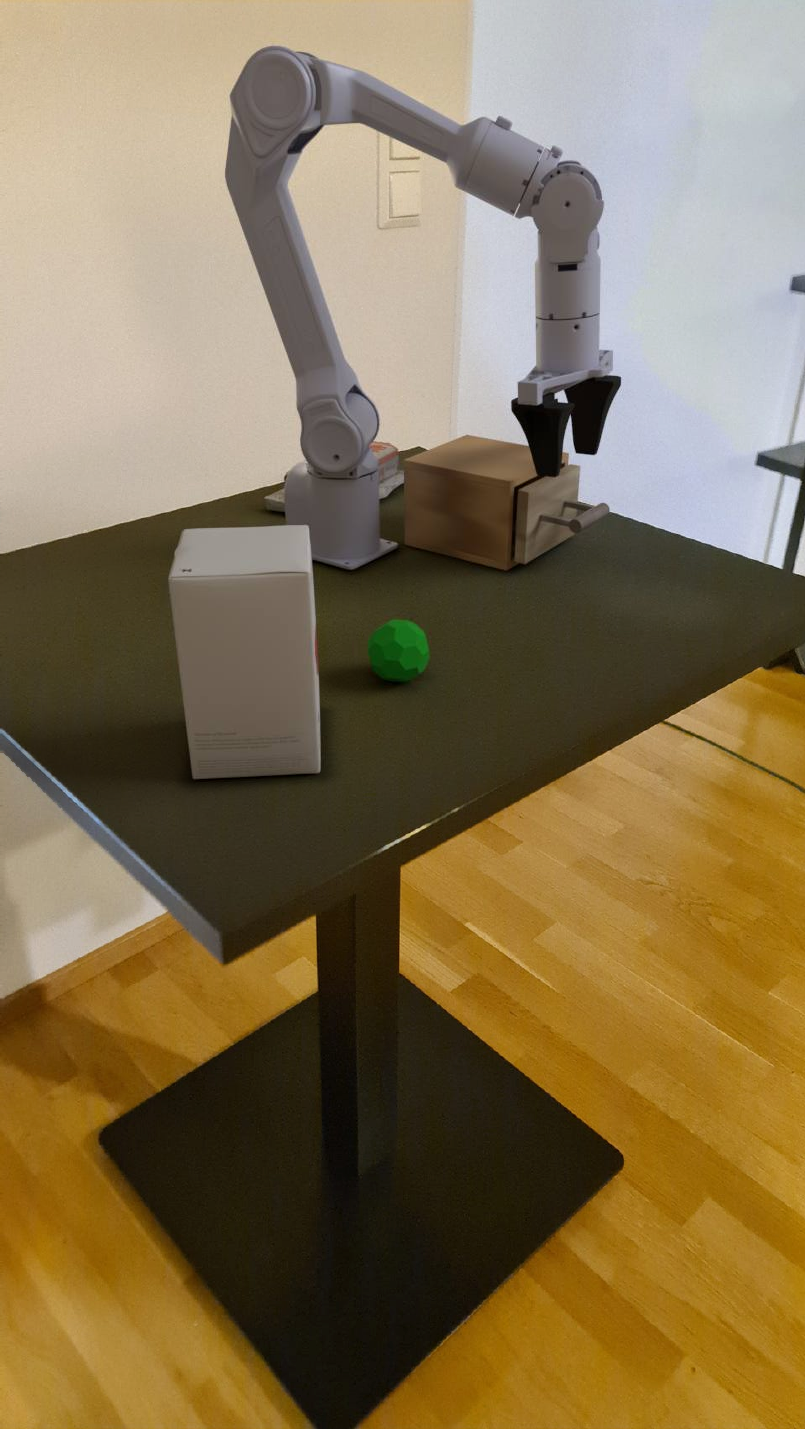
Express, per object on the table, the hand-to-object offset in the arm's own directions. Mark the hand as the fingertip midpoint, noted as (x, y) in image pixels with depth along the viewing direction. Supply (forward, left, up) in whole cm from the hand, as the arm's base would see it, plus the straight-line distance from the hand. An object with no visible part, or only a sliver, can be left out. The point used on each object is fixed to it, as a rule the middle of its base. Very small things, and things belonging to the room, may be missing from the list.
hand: (567, 464), depth 98 cm
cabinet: (-9, 0, -10) cm, 14 cm away
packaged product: (-31, +3, -10) cm, 33 cm away
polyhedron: (+2, -30, -10) cm, 31 cm away
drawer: (-5, 0, -9) cm, 10 cm away
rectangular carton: (0, -44, -10) cm, 45 cm away
